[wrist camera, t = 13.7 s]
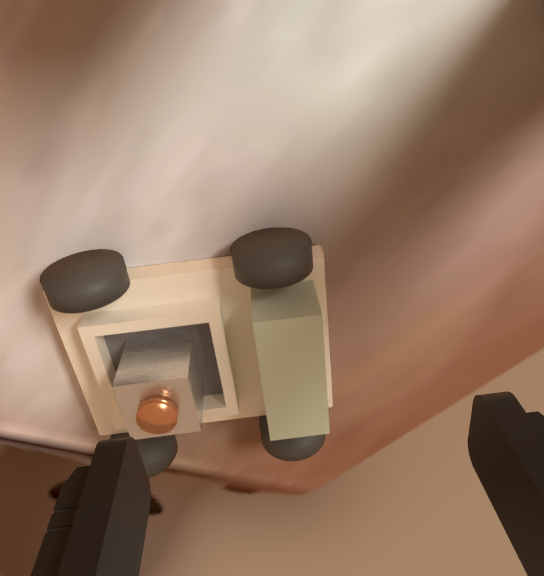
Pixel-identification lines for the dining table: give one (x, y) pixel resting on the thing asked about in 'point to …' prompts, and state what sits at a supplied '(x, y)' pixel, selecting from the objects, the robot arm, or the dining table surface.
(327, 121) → the dining table surface
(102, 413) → the chassis
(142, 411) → the cube with copper knob
